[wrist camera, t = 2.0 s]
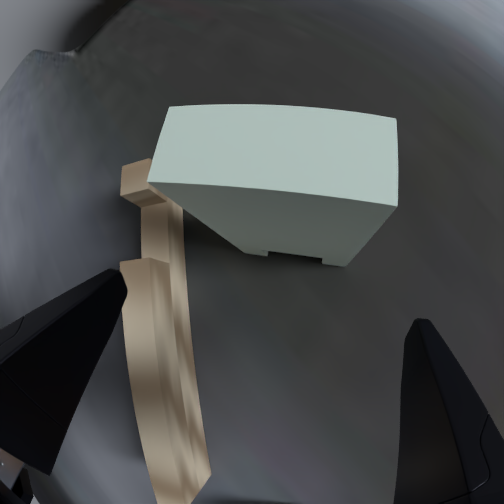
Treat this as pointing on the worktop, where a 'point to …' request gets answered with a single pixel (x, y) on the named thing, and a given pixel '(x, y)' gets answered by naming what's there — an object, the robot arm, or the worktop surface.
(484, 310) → the worktop surface
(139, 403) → the beige long bar piece
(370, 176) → the sage block
